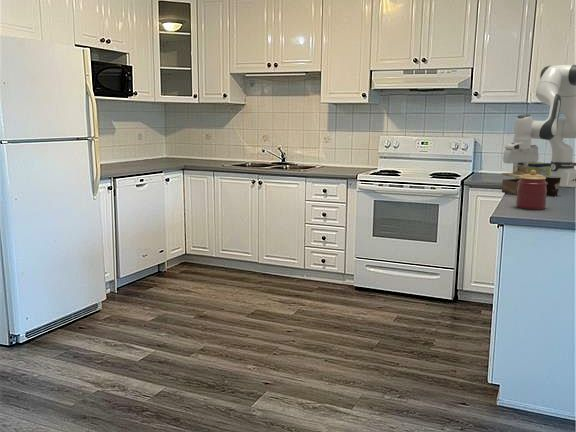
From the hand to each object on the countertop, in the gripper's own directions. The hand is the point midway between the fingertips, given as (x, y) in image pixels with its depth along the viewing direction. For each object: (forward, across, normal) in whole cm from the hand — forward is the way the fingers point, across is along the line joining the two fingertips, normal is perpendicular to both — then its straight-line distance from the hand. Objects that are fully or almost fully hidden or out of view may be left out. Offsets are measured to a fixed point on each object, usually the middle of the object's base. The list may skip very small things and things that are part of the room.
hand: (520, 170), depth 299 cm
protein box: (+13, -16, -9) cm, 22 cm away
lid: (+3, 0, 0) cm, 3 cm away
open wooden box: (+12, 0, 0) cm, 12 cm away
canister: (+12, +24, +38) cm, 47 cm away
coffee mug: (+12, -9, +11) cm, 19 cm away
